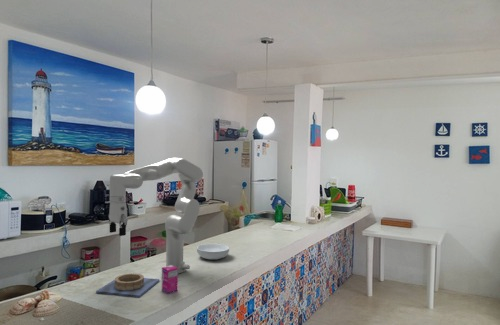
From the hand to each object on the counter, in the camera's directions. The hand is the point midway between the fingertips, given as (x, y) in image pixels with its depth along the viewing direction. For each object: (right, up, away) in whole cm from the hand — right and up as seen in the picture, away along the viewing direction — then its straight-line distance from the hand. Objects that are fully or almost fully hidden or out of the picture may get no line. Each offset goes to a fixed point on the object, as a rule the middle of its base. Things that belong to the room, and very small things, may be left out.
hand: (117, 233), depth 183 cm
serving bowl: (+42, -26, +53) cm, 72 cm away
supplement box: (+27, -27, -4) cm, 38 cm away
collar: (+6, -26, 0) cm, 27 cm away
